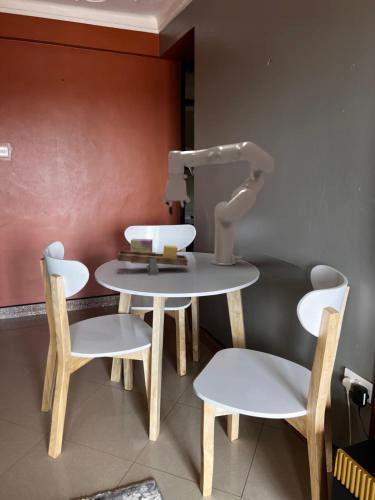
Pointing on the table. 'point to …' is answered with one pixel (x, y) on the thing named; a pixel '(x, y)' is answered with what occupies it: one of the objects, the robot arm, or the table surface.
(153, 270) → the stand
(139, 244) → the box
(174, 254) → the block
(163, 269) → the table surface
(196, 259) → the table surface
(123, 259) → the beam
